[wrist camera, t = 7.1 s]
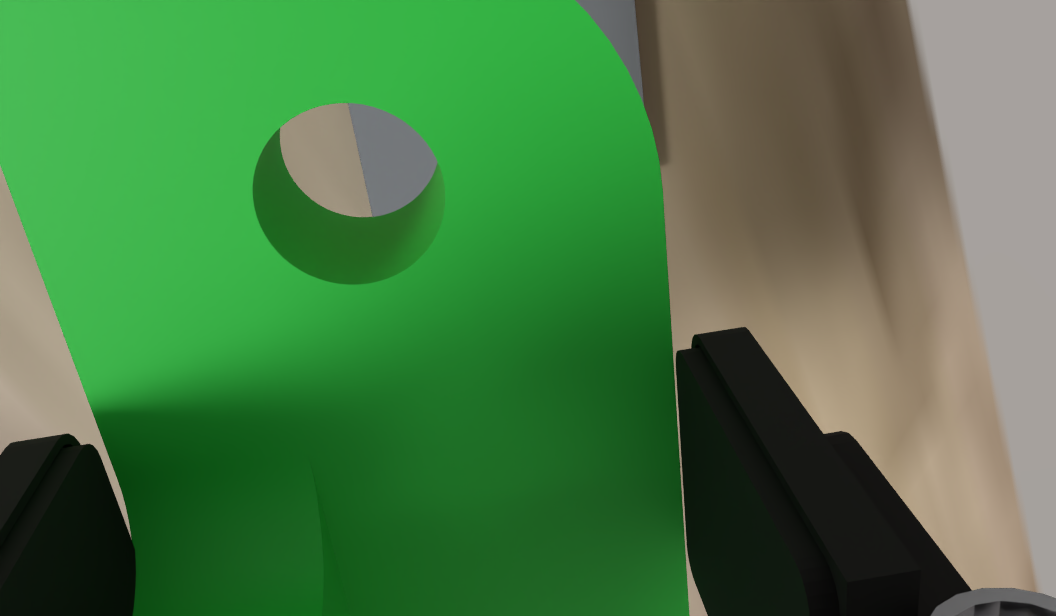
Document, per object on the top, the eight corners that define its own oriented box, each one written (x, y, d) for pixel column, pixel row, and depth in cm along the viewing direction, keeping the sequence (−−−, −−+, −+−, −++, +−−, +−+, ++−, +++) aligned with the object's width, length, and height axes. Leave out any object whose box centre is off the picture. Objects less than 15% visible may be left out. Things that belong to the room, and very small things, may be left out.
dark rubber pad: (302, -125, 21) (298, -125, 20) (612, -172, 21) (618, -175, 21) (375, 215, 24) (374, 224, 24) (643, 170, 25) (650, 178, 24)
